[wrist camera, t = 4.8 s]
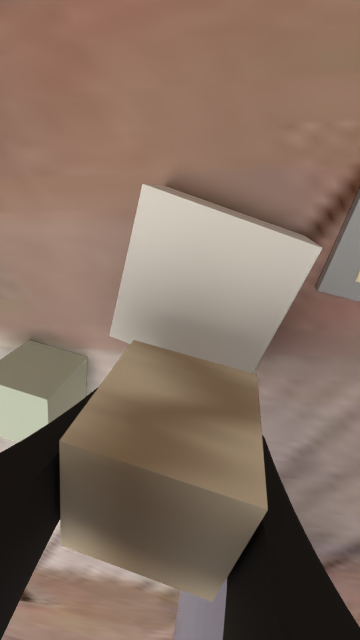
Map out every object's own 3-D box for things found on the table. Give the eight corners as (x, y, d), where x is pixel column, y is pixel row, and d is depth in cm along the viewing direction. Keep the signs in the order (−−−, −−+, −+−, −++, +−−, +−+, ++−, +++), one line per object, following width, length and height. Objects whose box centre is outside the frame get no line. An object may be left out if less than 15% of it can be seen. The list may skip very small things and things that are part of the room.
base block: (303, 234, 15) (322, 247, 11) (243, 351, 18) (244, 388, 15) (166, 185, 15) (142, 183, 12) (134, 309, 19) (109, 336, 15)
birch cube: (257, 374, 10) (267, 509, 6) (223, 458, 13) (212, 601, 8) (133, 339, 11) (59, 440, 6) (122, 426, 13) (60, 545, 9)
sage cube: (88, 356, 21) (47, 399, 17) (85, 404, 23) (49, 453, 19) (30, 339, 22) (-25, 376, 17) (33, 387, 24) (-15, 431, 19)
